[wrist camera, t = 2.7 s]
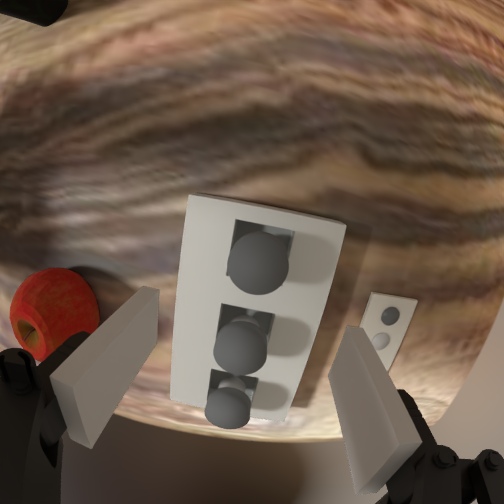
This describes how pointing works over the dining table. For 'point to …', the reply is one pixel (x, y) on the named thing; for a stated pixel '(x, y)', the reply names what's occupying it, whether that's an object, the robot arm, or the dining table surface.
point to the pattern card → (387, 323)
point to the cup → (34, 10)
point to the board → (249, 299)
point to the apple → (52, 310)
